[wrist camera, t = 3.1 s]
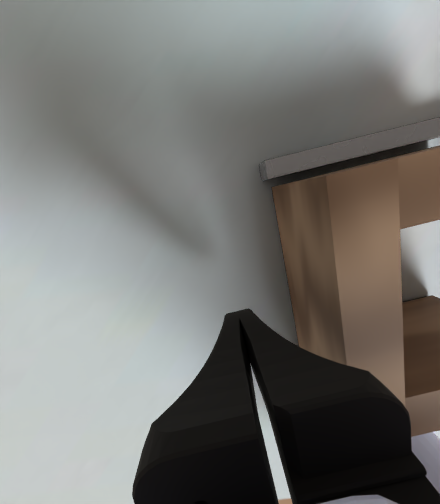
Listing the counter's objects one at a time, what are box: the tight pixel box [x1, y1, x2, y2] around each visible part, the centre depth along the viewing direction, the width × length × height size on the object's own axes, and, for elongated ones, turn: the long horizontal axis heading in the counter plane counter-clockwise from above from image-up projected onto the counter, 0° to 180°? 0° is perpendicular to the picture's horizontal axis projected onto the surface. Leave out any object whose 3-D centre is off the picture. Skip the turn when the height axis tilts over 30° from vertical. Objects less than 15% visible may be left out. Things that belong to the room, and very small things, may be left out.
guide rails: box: [259, 117, 440, 181], centre depth 15 cm, size 16×21×2 cm
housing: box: [272, 146, 440, 437], centre depth 12 cm, size 13×10×6 cm
